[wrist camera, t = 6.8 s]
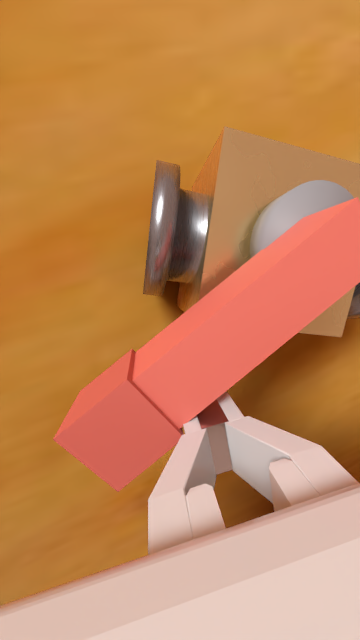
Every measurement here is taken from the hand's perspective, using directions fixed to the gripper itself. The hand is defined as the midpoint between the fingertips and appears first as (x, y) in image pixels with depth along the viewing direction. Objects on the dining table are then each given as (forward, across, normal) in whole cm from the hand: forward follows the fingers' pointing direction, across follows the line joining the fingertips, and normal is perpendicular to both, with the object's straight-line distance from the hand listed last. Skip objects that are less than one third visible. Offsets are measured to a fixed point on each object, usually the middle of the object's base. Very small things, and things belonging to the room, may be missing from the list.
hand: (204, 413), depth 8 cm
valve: (+8, -6, -5) cm, 12 cm away
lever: (+2, -2, -4) cm, 5 cm away
